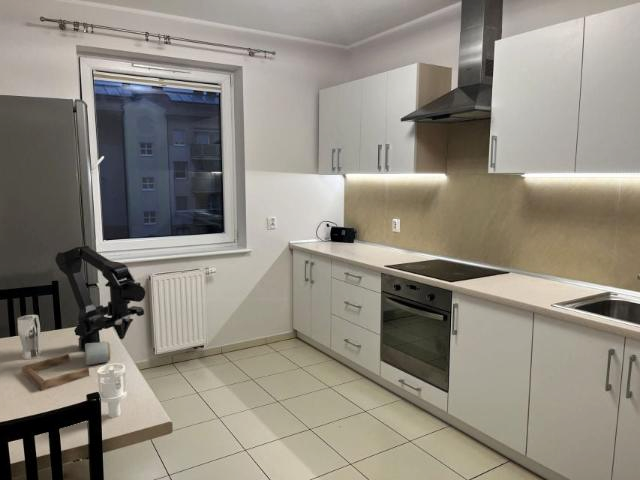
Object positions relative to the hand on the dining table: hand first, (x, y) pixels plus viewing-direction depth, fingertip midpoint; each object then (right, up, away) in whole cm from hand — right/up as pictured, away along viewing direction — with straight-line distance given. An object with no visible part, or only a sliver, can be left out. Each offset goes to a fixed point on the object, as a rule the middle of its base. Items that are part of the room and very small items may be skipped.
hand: (121, 339), depth 175 cm
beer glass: (-33, -7, 0) cm, 34 cm away
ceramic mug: (-7, -7, -5) cm, 11 cm away
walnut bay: (-15, -9, -16) cm, 23 cm away
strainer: (+16, -13, -42) cm, 47 cm away
